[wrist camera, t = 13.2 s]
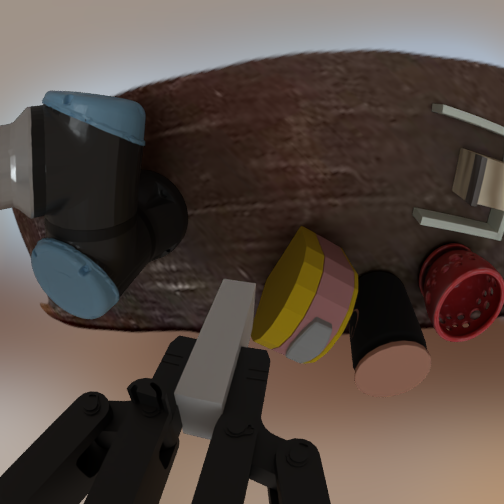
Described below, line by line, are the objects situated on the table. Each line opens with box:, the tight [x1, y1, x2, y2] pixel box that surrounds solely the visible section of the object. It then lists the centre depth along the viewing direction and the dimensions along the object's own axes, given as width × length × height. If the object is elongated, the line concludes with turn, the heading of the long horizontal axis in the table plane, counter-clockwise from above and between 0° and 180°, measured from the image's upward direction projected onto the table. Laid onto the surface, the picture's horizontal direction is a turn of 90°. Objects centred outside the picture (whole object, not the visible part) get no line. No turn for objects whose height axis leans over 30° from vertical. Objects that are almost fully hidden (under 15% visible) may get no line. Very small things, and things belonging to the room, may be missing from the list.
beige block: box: [452, 148, 504, 211], centre depth 35 cm, size 9×7×7 cm
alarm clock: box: [251, 226, 358, 363], centre depth 42 cm, size 15×8×18 cm, turn 154°
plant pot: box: [419, 243, 504, 342], centre depth 40 cm, size 13×13×12 cm
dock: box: [412, 104, 504, 241], centre depth 36 cm, size 16×17×4 cm
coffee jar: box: [348, 272, 431, 397], centre depth 43 cm, size 11×11×18 cm
